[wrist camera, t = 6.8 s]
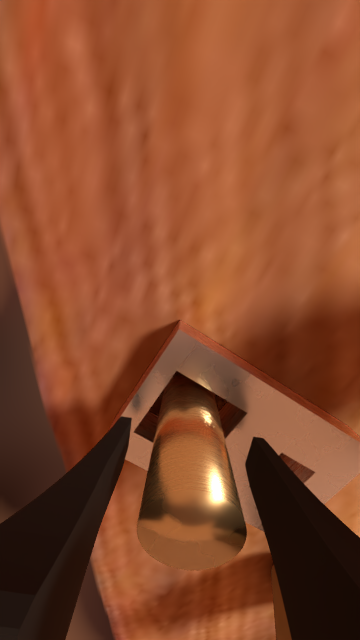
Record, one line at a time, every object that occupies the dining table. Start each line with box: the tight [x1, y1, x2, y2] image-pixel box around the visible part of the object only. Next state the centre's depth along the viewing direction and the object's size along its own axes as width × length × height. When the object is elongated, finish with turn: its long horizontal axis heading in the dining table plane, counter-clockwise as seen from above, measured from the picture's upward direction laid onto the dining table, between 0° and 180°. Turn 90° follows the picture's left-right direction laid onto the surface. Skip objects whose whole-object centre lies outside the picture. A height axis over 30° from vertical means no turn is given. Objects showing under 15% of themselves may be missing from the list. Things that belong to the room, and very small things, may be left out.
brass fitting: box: [137, 374, 247, 570], centre depth 11 cm, size 4×4×8 cm
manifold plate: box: [108, 320, 360, 531], centre depth 14 cm, size 16×10×2 cm, turn 57°
